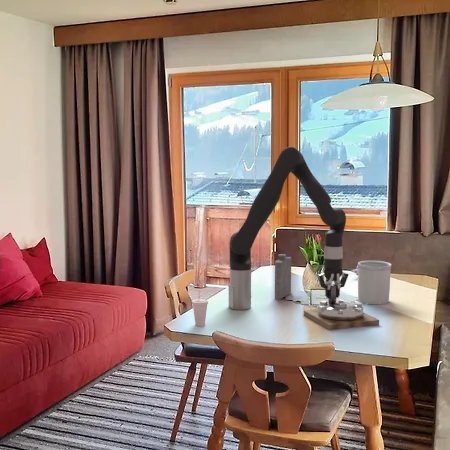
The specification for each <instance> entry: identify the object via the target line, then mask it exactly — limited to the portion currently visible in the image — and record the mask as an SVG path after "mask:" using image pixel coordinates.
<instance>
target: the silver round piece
mask: <svg viewBox="0 0 450 450" xmlns="http://www.w3.org/2000/svg"><path fill="white" fill-rule="evenodd" d="M336 290H337V285H336V284H335V283H332V284H331V287H330V298H329V299H328V298H327V299H328V301H326V300H320V301H319V304H318V308H317V309H318V314H319V315H320V316H321V317H324V318H327V319H333V320H356V319H360V318H362V317H363V312H364V307H363V303H362V302H354V303H352V302H345V301H344V299H341V298H340V299H339V298H338V300H337V298H336Z"/></svg>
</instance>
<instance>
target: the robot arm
mask: <svg viewBox="0 0 450 450" xmlns="http://www.w3.org/2000/svg"><path fill="white" fill-rule="evenodd" d="M290 173H292V174H293V176H294V177H295V178H296V179H298V181H299V183H300V184H301V186H302V187H303V189H304V191H305V193H306V195H307V196H308V197H309V199H310V201H311V202H312V203H313V205H314V206H315V207H316V209H317V212H318V214H319V217H320V219H321V221H322V222H323V224H324V225H326V226H328V227H329V230H328V231H327V232H326V233H325V236H324V251H323V272H322V273H321V274H319V273H318V274H317V275H316V277H317V279H318V282H319V286H320V287H321V288H323V289H325V291H324V292H325V294H324V296H325V297H326V298H327V299H329V298H330V287H331V284H336V285H337V290H336V299H337V298H338V299H339V297H340V294H341V293H340V292H341V288H344V287H345V285H346V283H347V280H348V278H349V273H347V272H343V257H344V256H343V254H344V253H343V235H344V231H345V227H346V223H347V216H346V212H345V211H344V210H343V209H342V208H341V207H339V208H338V207H335V208H334V207H332V205H331V204H332V198H331V196H330V195H329V193H328V192H327V191H326V190H325V188H324V187H323V186H322V184H321V183H320V181H318V179H317V178H316V177H315V175H314V173H312V172H311V170H310V168H309V166H308V164H307V162H306V160H305V158H304V155H303V153H302V152H301V151H300V150H298V148H296V147H295V146H288V147H287V146H286V147H285V148H284V149H282V151H281V152H280V153H279V155H278V157H277V159H276V161H275V163H274V166H273V168H272V170H271V172H270V174H269V176H268V177H267V178H266V180H265V182H264V184H263V185H262V187H261V189H259V191H258V193H257V195H256V196H255V199H254V200H253V202H252V204H251V206H250V209H249V210H248V214H247V216H246V219H245V221H244V223H243V225H241V227H240V228H239V230H238V231H236V232H235V233H233V234H232V235H231V236H230V238H229V285H228V307H229V308H230V309H231V310H238V311H239V310H240V311H242V310H243V311H244V310H250V309H251V308H252V258H251V257H252V256H251V251H252V250H251V249H252V247H253V245H254V242H255V240H256V238H257V236H258V234H259V232H260V230H261V229H262V228H263V226H264V224H265V223H266V222H267V220H268V219H269V218H270V216H271V214H272V213H273V212H274V210H275V208H276V206H277V205H278V203H279V201H280V198H281V195H282V192H283V188H284V185H285V183H286V180H287V178H288V177H289V175H290Z"/></svg>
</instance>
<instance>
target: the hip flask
mask: <svg viewBox="0 0 450 450" xmlns="http://www.w3.org/2000/svg"><path fill="white" fill-rule="evenodd" d="M277 256H278V259H276V260H275V261H274V300H277V301H279V300H282V299H283V298H284V297H285V296H288V295H290V293H292V256H287V255H286V254H285V253H280V254H277Z"/></svg>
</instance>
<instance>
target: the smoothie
mask: <svg viewBox="0 0 450 450" xmlns="http://www.w3.org/2000/svg"><path fill="white" fill-rule="evenodd" d="M197 293H198V294H197V295H198V297H197V298H196V299H193V300H191V304H192V309H193V316H194V322H195V323H194V324H195V326H197V327H203V326H206V317H207V311H208V304H209V300H207V299H204V298H200V297H201V295H200V293H201V290H200V289H198V290H197Z"/></svg>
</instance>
